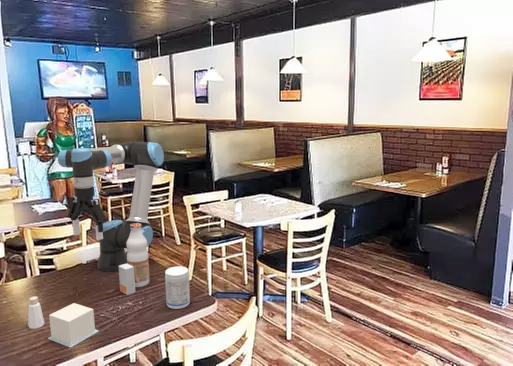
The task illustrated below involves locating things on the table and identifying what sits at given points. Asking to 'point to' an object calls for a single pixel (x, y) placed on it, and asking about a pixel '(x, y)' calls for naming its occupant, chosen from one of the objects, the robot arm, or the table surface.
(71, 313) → the plain cream cube
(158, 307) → the table surface
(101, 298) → the table surface
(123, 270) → the skincare box
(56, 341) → the plain pale blue panel
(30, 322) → the pepper shaker
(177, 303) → the supplement tub
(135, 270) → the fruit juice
